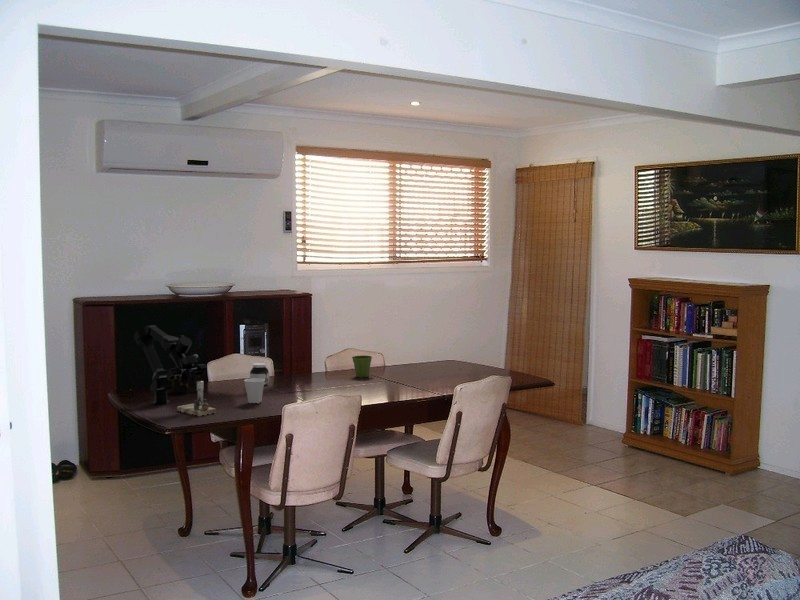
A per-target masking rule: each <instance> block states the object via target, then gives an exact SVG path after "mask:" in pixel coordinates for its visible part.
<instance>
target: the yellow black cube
mask: <svg viewBox="0 0 800 600" xmlns="http://www.w3.org/2000/svg"><path fill="white" fill-rule="evenodd" d="M174 377H175V378H174V380H172V381H173V382H172V392H173V393H178V392H182V393H181V394H191V393H190V392H192V393H194V391H195V392H198V391H197V381H200V376H195V383H196V386H195V387H192V386H191V385H189V384H188V383H186V382H184V381H182V380H179V379H180V375H177V376H174Z"/></svg>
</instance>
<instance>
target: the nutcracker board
mask: <svg viewBox="0 0 800 600" xmlns="http://www.w3.org/2000/svg"><path fill="white" fill-rule="evenodd" d="M203 401H204V404H203V405H202V406H199V401H198V399H193V403H189V404H185V405H184V404H183V405H179V406H178V405H177V409H176V410H177V412H180V411H181V412H180V413H184V412H185V413H184V414H188V415H192V414H193V415H192V416H195V415H197V417H203V416H202V415H204V416H208V415H207V414H209V415H213V414H212V413H214V414H217V408H214V407H210V404H209V403H208V399H206V398H203Z"/></svg>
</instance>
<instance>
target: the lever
mask: <svg viewBox="0 0 800 600" xmlns="http://www.w3.org/2000/svg"><path fill="white" fill-rule="evenodd" d="M204 383H205V382H204V380H199V381H197V391H196V392H197V401H199V406H202V405H203V404H204V401H203V399H204Z"/></svg>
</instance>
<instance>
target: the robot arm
mask: <svg viewBox="0 0 800 600" xmlns="http://www.w3.org/2000/svg"><path fill="white" fill-rule="evenodd" d="M154 339H155V340H156V341H158V342H159V343H160V344H161V347H162V348H163V350H164V351H166V352H169V351H170V352H169V356H168V359H169V360H170V359H172V360H173V362H174V368H170V369H164V367H163V365H162V363H161V360H160V358H159V356H158V354H157V352H156V349H155V346H154ZM133 340H134V341H135V343H136V344H137V346H138V347H140V348H141V349H142V351H143V352H144V355H145V357H146V360H147V362H148V364H149V366H150V368H151V371H152V373H153V375H152V378H151V380H152V382H151V384H150V386H149V389H150V392H153V393H154V401H153V402H152V404H153V405H167V404H168V403H169V402H170V400H168V391H169V390H172V388H173V380H174V378H175V377H174V376H177V375H180V379H179V380H182V381H184V382H186V383H188V384H189V385H191V386H192V387H195V386H196V383H195V376H199V377H200V376H203V375H204V373H205V372H206V370H207V369H208V367H207V365H206V364H205V363H200V364H197V365H196V366H195V367H194V365H195V363H197V362H199V360H200V357H199V355H198V354H197V353H195V354H192V355H188V356H186V355H185V354H187V353H188V351H189V350H190V347H191V346H192V345H193V340H192V339H191V338H189V337H187V336H185V335H182V334H181V335H179V337H177V336H174V335H169V334H167V333H166V332H165V331H163V330H161V329H160V328H159V327H158V326H157V325H155V324H153V325H146V326H145V327H144V328H141V329H140V330H136V331H135V333H134V334H133ZM193 367H194V368H193Z"/></svg>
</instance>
